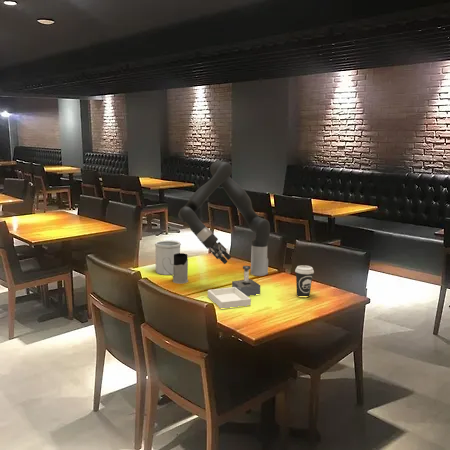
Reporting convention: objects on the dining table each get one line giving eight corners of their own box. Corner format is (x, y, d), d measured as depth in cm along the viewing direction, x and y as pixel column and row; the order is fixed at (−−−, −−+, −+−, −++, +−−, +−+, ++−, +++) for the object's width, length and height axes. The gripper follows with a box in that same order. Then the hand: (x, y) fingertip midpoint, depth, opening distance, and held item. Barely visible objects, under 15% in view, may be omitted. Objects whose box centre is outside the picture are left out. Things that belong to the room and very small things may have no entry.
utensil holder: (166, 266, 304) (166, 238, 300) (185, 271, 295) (185, 242, 292) (149, 272, 292) (149, 242, 288) (168, 276, 283) (168, 246, 280)
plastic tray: (234, 293, 258) (235, 286, 257) (250, 305, 241) (250, 298, 240) (207, 296, 252) (207, 290, 251) (221, 309, 235) (221, 302, 234)
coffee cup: (314, 294, 259) (316, 266, 256) (309, 300, 250) (311, 271, 247) (296, 291, 263) (298, 264, 260) (291, 296, 254) (292, 268, 251)
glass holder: (188, 283, 272) (188, 257, 269) (162, 283, 271) (162, 256, 268) (188, 278, 281) (188, 252, 278) (163, 278, 280) (162, 252, 277)
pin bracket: (250, 288, 267) (251, 279, 266) (260, 294, 257) (260, 285, 256) (232, 290, 262) (232, 281, 261) (240, 297, 252) (240, 287, 252)
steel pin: (247, 290, 262) (248, 265, 259) (251, 293, 258) (251, 267, 256) (240, 291, 261) (241, 265, 258) (243, 294, 257) (244, 268, 254)
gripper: (208, 235, 251) (230, 259, 251) (215, 230, 264) (235, 252, 264) (198, 245, 253) (219, 269, 253) (205, 239, 267) (226, 261, 266)
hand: (228, 260), depth 259 cm, fingers open, 8 cm apart
